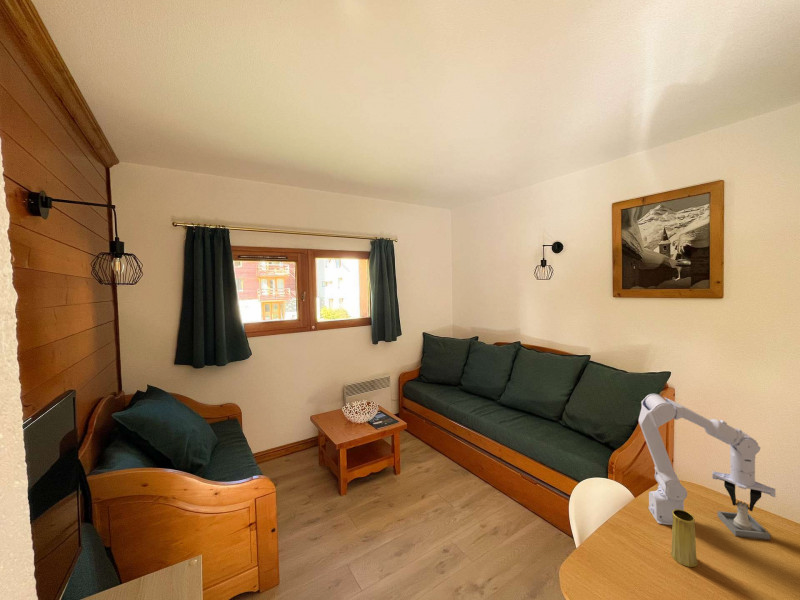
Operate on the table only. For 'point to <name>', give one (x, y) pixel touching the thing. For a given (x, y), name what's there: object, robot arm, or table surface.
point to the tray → (756, 530)
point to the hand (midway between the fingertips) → (742, 506)
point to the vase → (683, 538)
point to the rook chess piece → (742, 517)
